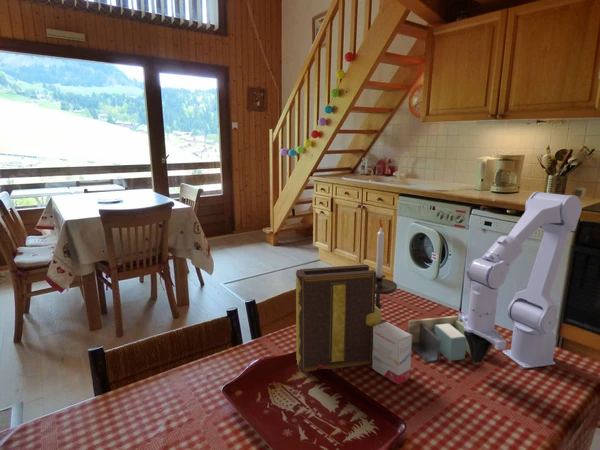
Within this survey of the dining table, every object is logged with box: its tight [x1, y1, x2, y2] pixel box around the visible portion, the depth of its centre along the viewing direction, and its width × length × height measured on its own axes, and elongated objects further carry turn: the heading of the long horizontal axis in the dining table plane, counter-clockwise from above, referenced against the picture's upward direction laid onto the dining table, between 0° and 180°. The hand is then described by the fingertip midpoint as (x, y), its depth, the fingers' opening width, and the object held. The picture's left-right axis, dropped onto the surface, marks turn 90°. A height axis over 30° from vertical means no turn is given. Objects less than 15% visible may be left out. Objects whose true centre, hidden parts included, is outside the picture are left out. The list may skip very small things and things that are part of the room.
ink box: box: [372, 321, 412, 386], centre depth 91 cm, size 9×5×12 cm, turn 33°
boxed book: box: [434, 323, 467, 362], centre depth 101 cm, size 4×8×6 cm, turn 11°
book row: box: [454, 320, 471, 356], centre depth 103 cm, size 3×9×7 cm, turn 11°
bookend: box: [411, 324, 441, 363], centre depth 101 cm, size 4×9×6 cm, turn 11°
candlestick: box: [375, 217, 398, 325], centre depth 112 cm, size 11×11×35 cm
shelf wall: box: [407, 315, 458, 343], centre depth 107 cm, size 18×1×7 cm, turn 101°
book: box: [295, 264, 383, 373], centre depth 95 cm, size 22×8×25 cm, turn 102°
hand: (476, 361), depth 90 cm, fingers closed
